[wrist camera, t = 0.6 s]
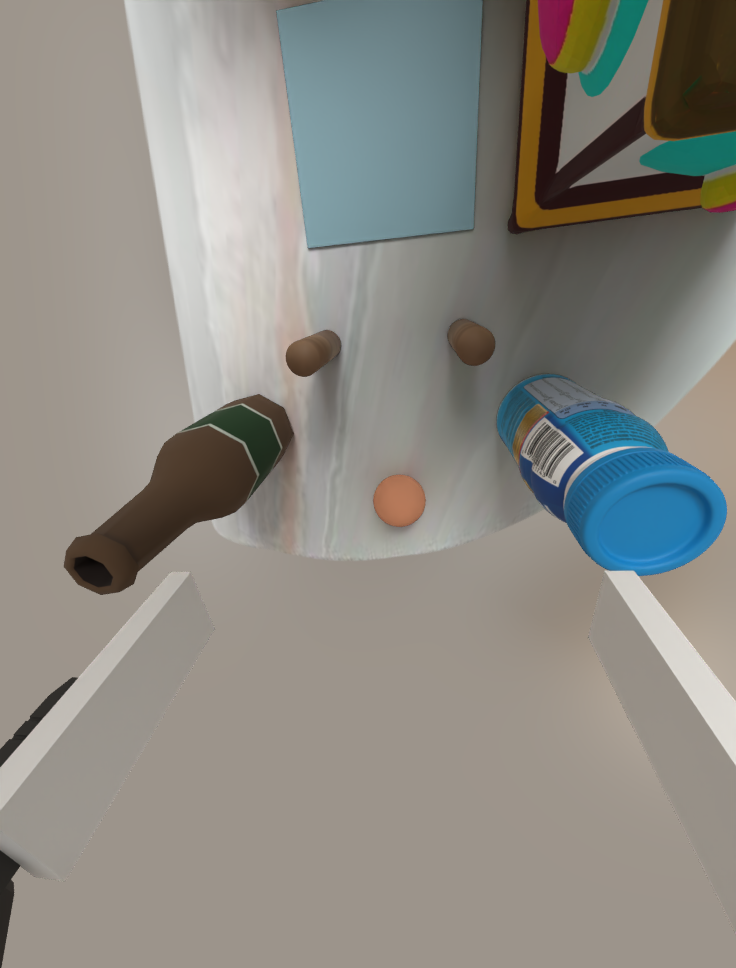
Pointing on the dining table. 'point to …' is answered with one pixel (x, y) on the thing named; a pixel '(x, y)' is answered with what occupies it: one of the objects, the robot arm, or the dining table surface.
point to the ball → (399, 500)
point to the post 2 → (471, 342)
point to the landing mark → (383, 115)
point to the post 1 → (312, 352)
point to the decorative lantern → (625, 111)
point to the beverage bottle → (609, 477)
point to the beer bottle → (184, 491)
